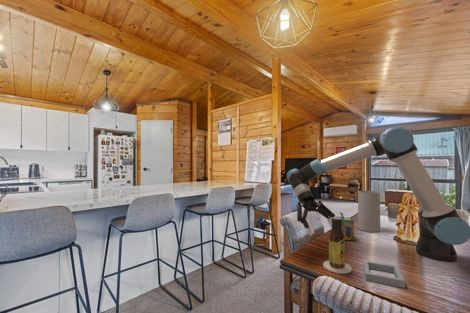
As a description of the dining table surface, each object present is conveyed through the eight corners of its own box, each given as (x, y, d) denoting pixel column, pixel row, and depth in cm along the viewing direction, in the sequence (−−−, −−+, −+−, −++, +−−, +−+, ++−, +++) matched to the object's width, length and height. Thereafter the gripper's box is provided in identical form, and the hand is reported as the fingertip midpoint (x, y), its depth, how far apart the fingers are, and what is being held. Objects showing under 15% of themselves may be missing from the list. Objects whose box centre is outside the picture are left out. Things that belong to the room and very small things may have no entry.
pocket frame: (397, 272, 93) (397, 265, 93) (404, 287, 81) (404, 280, 81) (363, 266, 98) (363, 260, 98) (365, 280, 86) (365, 273, 86)
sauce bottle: (344, 270, 92) (343, 220, 93) (327, 266, 95) (327, 218, 96) (346, 264, 98) (345, 217, 98) (330, 261, 101) (330, 215, 101)
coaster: (351, 265, 99) (351, 263, 99) (352, 276, 89) (352, 274, 89) (324, 260, 104) (324, 258, 104) (322, 270, 94) (322, 268, 94)
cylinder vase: (354, 228, 154) (353, 191, 154) (366, 226, 159) (366, 190, 160) (372, 233, 142) (371, 193, 143) (384, 231, 148) (384, 192, 148)
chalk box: (354, 241, 129) (354, 214, 130) (337, 239, 131) (336, 213, 131) (349, 235, 138) (349, 211, 139) (333, 234, 140) (333, 210, 141)
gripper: (320, 198, 124) (341, 234, 110) (280, 200, 116) (297, 239, 102) (327, 189, 120) (350, 226, 105) (286, 191, 111) (305, 231, 97)
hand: (324, 232), depth 103 cm, fingers open, 13 cm apart
